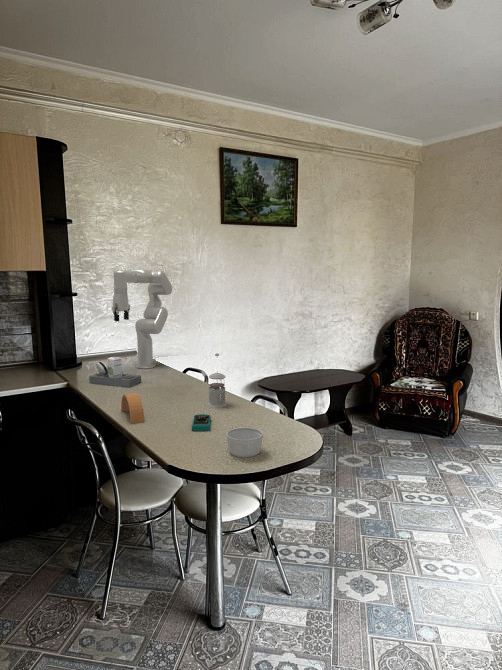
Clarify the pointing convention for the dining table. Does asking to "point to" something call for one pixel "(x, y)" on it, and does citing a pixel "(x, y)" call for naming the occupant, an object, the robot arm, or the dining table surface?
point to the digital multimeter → (201, 422)
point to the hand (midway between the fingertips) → (121, 320)
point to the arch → (133, 407)
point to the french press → (217, 391)
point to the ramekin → (244, 441)
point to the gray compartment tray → (115, 380)
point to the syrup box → (114, 367)
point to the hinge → (102, 367)
